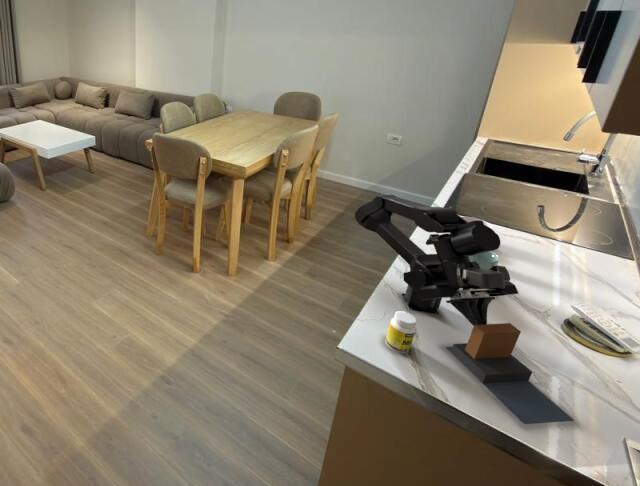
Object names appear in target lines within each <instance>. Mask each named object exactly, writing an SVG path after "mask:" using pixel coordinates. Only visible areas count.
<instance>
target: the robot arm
mask: <svg viewBox="0 0 640 486" xmlns="http://www.w3.org/2000/svg"><path fill="white" fill-rule="evenodd" d="M394 215H398V216H401V217H404V218H405V219H408V220H411V221H413V222H414V223H415V225H416V226H417V227H418V228H420V229H421V230H422V231H424V232H426V233H430V234H429V237H428V238H427V239H426V241H425V245H426V246H433V247H434V250H435V253H426V252H425V251H424V250H423V249H421V248H420V247H419V245H417V244H416V243H415V242H414V241H412V240H411V239H410V238H409V237H408V236H407V235H406V234H405V233H403V231H401V230H400V229H399V228H398V227H397V226H396V225H395V224H394V223H393V222H392V217H393V216H394ZM462 217H463V216H460V215H459V214H458V212H457V210H456V209H454V208H452V207H443V206H428V205H423V204H421V203H416V202H413V201H410V200H407V199H405V198H401V197H398V196H397V195H393V194H379V195H377V196H375V197H374V198H373V199H371V200H370V201H368V202H365V203H363V204H361V206H359V207H358V208H357V210H356V211H355V213H354V219H355V221H356V222H357V224H358V225H360V226H361V227H362V228H363V229H365V230H368V231H370V232H374V233H376V234H377V235H378V236H379V237H380V238H381V239H382V240H383V241H384V242H385V243H386V244H387V245H388V246H389V247H390V248H391V249H392V250H393V251H395V253H396V254H398V255H399V257H401V259H402V260H404V262H405V263H407V264H408V265H409V271H405V272H403V274H402V275H403V282H404V283H406V284H407V286H406V290H405V292H404V293H401V297H402V299H403V300H404V303H406V305H407V307H408V309H409V310H411V311H416V312H420V313H421V312H422V313H427V314H432V315H433V314H434V315H439V314H440V312H439V311H438V309H439V308H440V306H441V303H442V299H443V298H449V300H445V302H446V303H447V304H450V305H451V306H452V307H454V308H455V309H456V310H457V311H458V312H459V313H460V314H461V315H462V316H463V317H464V318H465V319H466V320H467V321H468V322H469V323H470V325H472V326H473V327H474V325H484V324H488V310H489V309H488V308H489V306H490V303H491V302H492V301H493V300H496V297H504V296H511V295H519V294H520V293H519V291H518V289H517V287H516V284H515V283H513V282H512V281H511V276H510V273H509V270H508V269H507V268H506V266H504V265H498V266H491V268H490V269H481V268H480V266H479V264H478V263H477V262H471V259H470V257H469V256H473V255H477V254H482V253H486V252H490V251H492V252H494V251H496V250H498V249H499V248H500V246H501V238H500V236H499V234H498V233H497V232H495V230H494V229H491V228H489V227H488V226H485V225H484V223H483V221H484V220H483V219H480V220H474V221H470V222H467V221H466V220H464V219H463V218H462ZM482 220H483V221H482ZM431 233H432V234H431Z"/></svg>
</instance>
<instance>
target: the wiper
mask: <svg viewBox="0 0 640 486" xmlns="http://www.w3.org/2000/svg"><path fill="white" fill-rule="evenodd" d="M521 332H522V331H521V330H520V329H518V328H517V327H516V326H514V325H513V324H512V323H510V322H505V323H487V324H484V325H474V326H473V328H472V331H471V333H470V335H469V338H468V340H467V342H466V343H465V342H464V343H453V344H452V346H451V347H452V350H451V352H450V353H451V355H452V356H453V357H454V358H456V359H457V361H459V362H460V363H461V364H462V365H463V366H464V367H465V368H466V369H467V368H468V369H469V370H470V371H471V372H472V373H473V374H474V375H475V376H476V377H477V378H478V379H479V380H480V381H481V382H482V383H496V382H513V381H530V378H531V377H532V374H533V371H532V370H531V369H529V367H527V366H526V364H524V363H523V362H521V360H519V359H517V358H516V357H515V355H513V354H512V353H513V351H514V349H515V347H516V344H517V342H518V339H519V338H520V335H521ZM468 369H467V370H468ZM469 370H468V371H469ZM470 371H469V372H470ZM471 372H470V373H471ZM472 373H471V374H472ZM473 374H472V375H473ZM474 375H473V376H474ZM475 376H474V377H475ZM476 377H475V378H476ZM477 378H476V379H477ZM478 379H477V380H478ZM479 380H478V381H479ZM480 381H479V382H480ZM481 382H480V383H481ZM482 383H481V384H482Z"/></svg>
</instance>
